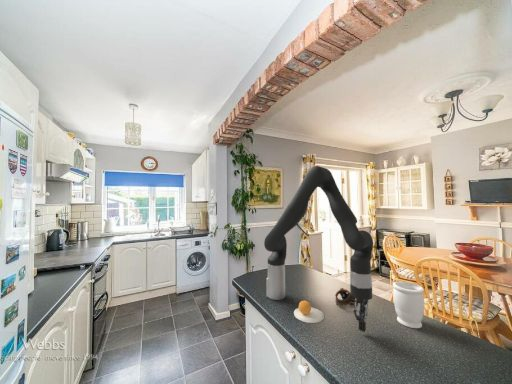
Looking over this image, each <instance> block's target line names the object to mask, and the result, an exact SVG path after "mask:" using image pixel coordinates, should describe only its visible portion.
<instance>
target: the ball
mask: <svg viewBox="0 0 512 384" xmlns="http://www.w3.org/2000/svg"><path fill="white" fill-rule="evenodd" d="M311 307H312V306H311V303H310V302H309V301H308V300H301V301H300V302H299V304H298V308H299V310H300V312H301V313H302V314H309V313H310V311H311Z"/></svg>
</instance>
